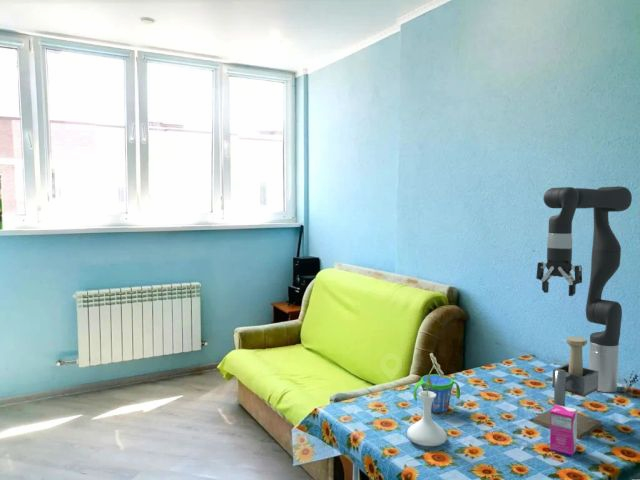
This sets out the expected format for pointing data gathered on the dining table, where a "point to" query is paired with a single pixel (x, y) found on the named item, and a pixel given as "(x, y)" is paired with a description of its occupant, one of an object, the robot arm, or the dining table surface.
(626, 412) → the dining table surface
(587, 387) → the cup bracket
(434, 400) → the snack cup
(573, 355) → the handle
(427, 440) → the flower in vase
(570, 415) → the supplement box
